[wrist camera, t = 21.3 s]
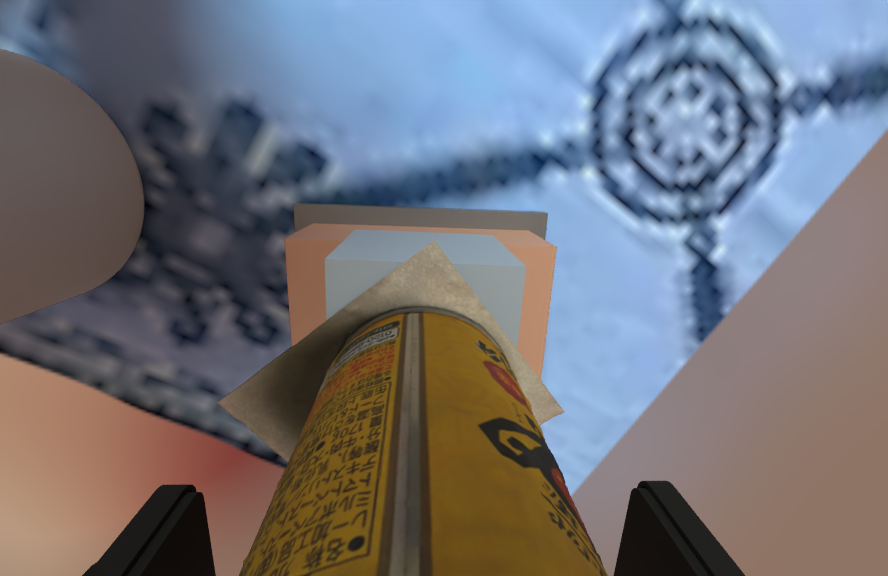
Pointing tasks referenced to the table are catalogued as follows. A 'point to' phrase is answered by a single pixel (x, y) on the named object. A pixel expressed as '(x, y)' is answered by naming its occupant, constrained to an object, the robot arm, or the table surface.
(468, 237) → the brick
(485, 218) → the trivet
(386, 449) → the condiment
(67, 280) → the cylinder vase
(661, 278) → the table surface
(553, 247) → the brick
